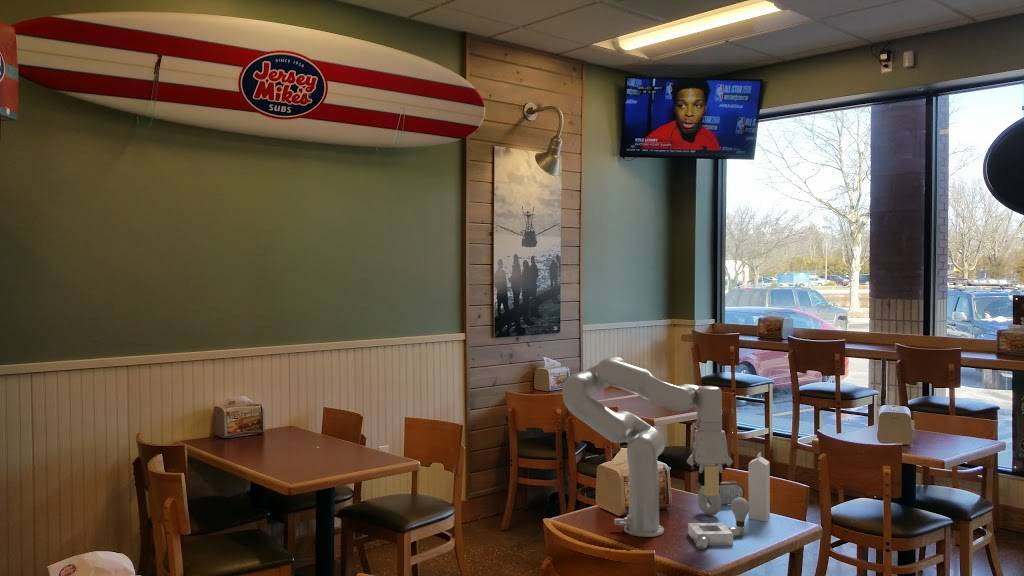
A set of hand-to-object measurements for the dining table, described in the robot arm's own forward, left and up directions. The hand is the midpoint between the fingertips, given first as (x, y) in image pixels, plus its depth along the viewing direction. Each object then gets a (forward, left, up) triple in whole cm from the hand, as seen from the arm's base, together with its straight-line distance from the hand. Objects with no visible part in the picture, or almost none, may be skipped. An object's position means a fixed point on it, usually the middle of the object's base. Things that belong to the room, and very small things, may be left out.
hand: (709, 484), depth 247 cm
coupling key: (0, 0, -3) cm, 3 cm away
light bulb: (+13, +11, -18) cm, 25 cm away
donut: (+7, +26, -18) cm, 32 cm away
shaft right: (+8, +2, -17) cm, 19 cm away
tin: (+16, +39, -18) cm, 46 cm away
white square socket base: (0, 0, -17) cm, 17 cm away
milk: (+23, +22, -18) cm, 37 cm away
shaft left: (-4, -7, -17) cm, 19 cm away
